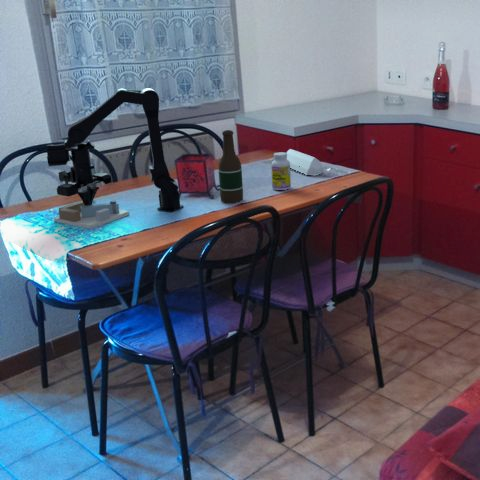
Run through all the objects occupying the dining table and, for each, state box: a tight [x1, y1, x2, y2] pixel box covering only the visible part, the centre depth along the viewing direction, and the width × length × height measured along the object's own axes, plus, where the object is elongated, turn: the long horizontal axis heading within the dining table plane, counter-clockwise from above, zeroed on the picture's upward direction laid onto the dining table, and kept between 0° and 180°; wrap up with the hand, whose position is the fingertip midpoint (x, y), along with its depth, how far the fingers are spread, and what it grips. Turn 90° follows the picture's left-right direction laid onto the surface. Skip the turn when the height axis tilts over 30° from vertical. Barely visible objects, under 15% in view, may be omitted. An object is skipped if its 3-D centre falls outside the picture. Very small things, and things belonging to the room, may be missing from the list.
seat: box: [53, 200, 130, 230], centre depth 224 cm, size 18×17×4 cm
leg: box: [80, 200, 120, 217], centre depth 224 cm, size 12×3×4 cm, turn 105°
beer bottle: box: [218, 129, 244, 204], centre depth 231 cm, size 8×8×24 cm
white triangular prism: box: [286, 148, 324, 176], centre depth 270 cm, size 7×7×24 cm
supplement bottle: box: [270, 151, 292, 191], centre depth 244 cm, size 7×7×13 cm
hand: (88, 209), depth 225 cm, fingers closed
